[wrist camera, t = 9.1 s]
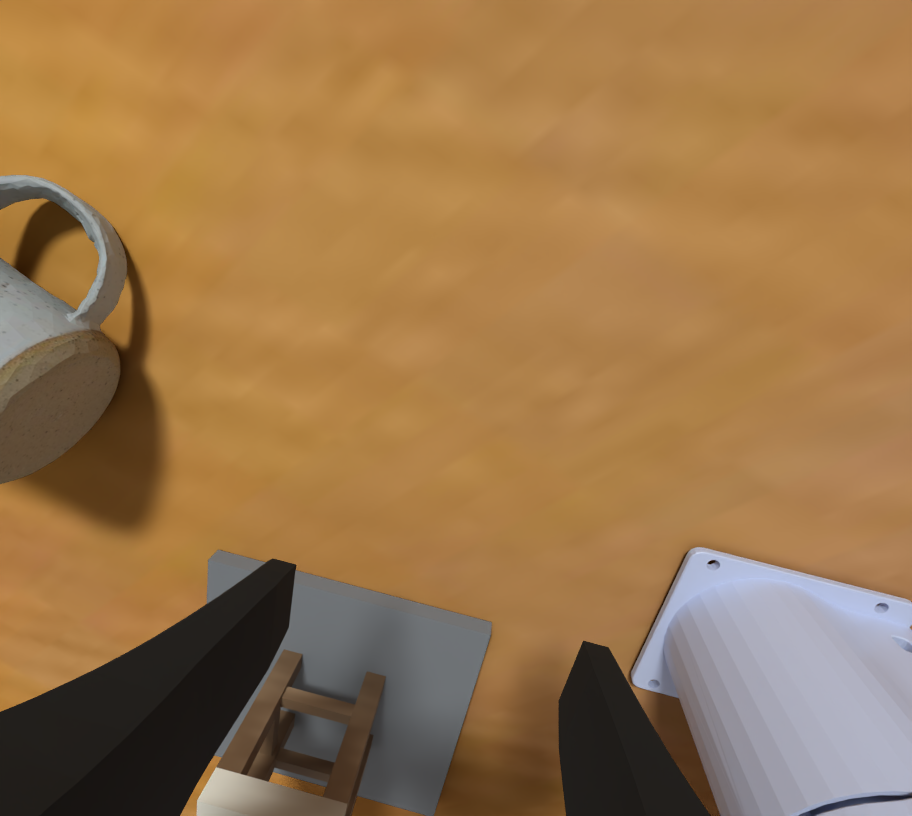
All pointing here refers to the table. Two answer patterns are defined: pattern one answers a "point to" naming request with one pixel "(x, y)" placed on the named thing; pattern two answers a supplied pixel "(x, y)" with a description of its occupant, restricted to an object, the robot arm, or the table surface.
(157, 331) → the table surface
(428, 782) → the mat
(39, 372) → the ceramic mug
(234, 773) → the stool
